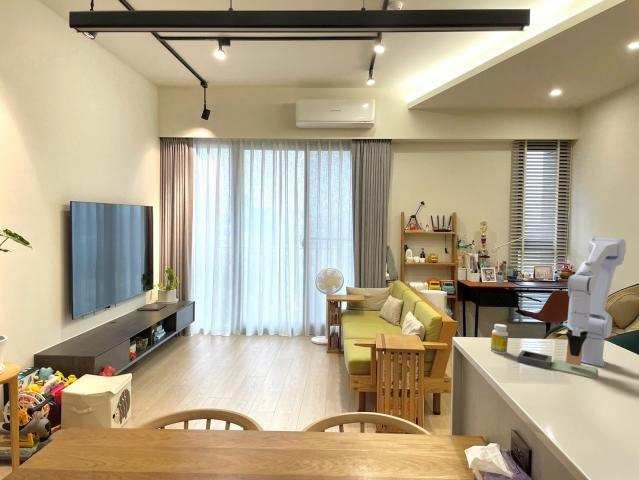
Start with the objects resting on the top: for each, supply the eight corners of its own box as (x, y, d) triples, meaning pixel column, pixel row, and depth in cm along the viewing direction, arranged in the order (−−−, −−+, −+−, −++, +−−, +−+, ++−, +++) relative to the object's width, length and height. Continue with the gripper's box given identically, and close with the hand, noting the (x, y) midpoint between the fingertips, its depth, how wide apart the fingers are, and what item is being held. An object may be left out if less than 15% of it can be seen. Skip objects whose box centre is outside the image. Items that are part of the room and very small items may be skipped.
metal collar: (521, 355, 140) (522, 350, 140) (551, 362, 135) (551, 356, 135) (517, 361, 133) (518, 355, 133) (548, 368, 127) (549, 362, 127)
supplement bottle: (494, 348, 147) (496, 322, 146) (509, 352, 143) (511, 325, 143) (487, 351, 143) (490, 324, 143) (503, 355, 139) (505, 327, 139)
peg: (566, 359, 132) (568, 335, 132) (581, 362, 130) (583, 338, 129) (565, 362, 129) (568, 338, 128) (580, 366, 126) (582, 341, 126)
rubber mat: (554, 359, 137) (554, 358, 137) (596, 369, 131) (596, 367, 131) (550, 368, 128) (550, 367, 128) (596, 379, 121) (596, 377, 121)
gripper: (565, 307, 137) (562, 346, 137) (562, 313, 125) (558, 356, 125) (590, 310, 133) (586, 351, 133) (589, 317, 121) (585, 361, 121)
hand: (575, 353), depth 129 cm, fingers closed on peg, 4 cm apart
